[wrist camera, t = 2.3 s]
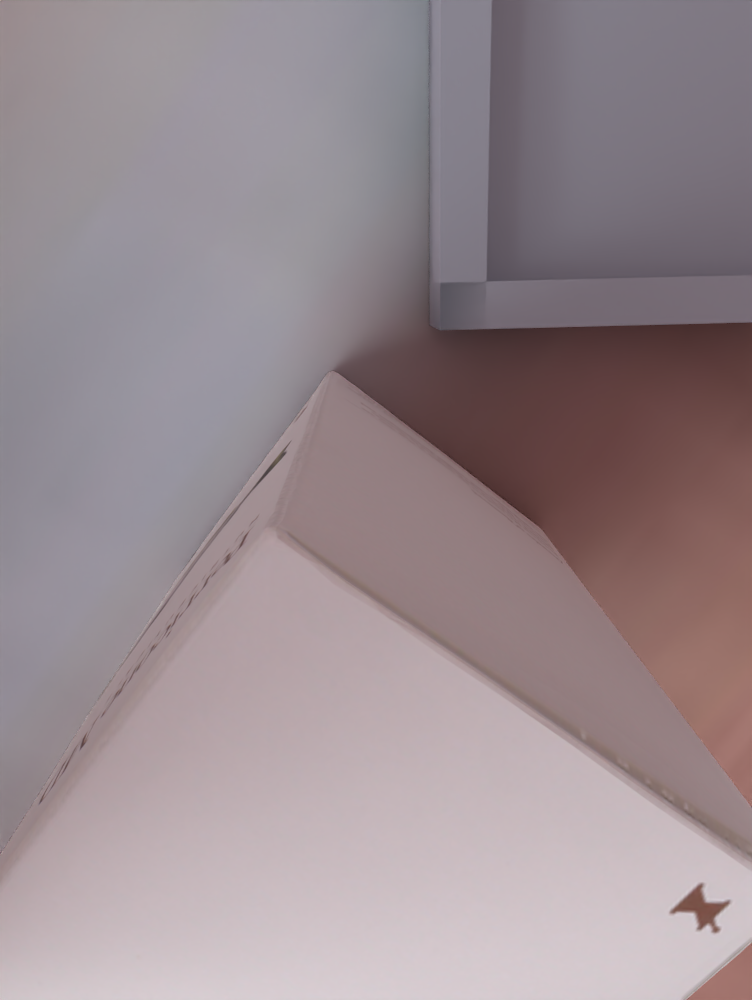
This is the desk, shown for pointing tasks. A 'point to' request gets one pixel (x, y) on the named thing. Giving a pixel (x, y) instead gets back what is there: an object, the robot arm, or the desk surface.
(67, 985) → the supplement box
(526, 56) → the tray
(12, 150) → the desk surface
